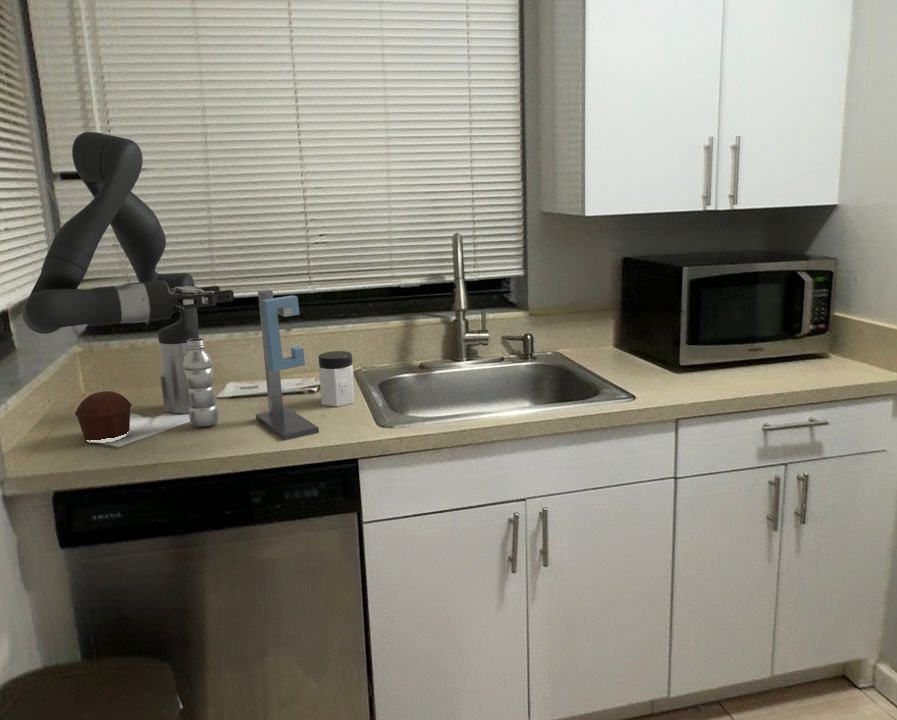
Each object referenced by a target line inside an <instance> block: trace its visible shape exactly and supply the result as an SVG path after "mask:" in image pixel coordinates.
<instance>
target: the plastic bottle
mask: <svg viewBox="0 0 897 720" xmlns="http://www.w3.org/2000/svg"><path fill="white" fill-rule="evenodd" d="M205 348H206V344H205V339H204V338H200V337H199V338H194V339H189V340H187V349H189V351H188V353H187V355H186V356H185V358H184V360H183V368H184V372H185V375H186V379H187V383H188V387H189V388H188V389H189V400H190V407H189V413H188V414H189V415H188V418H189V421H190V423H191V424H192V425H193V426H194V427H201V428H202V427H210V426H214V425H216V424H217V423H218V421H219V419H220V410H219V408H218V407H219V406H218V404H217V400H216V395H215V392H214V391H215V390H214V385H213V384H214V378H213V377H214V375H213V373H214V370H213V369H214V366H213V365H214V362H213V358H212V356H210V354H209V353H208V352H207V350H205Z"/></svg>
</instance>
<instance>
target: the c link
mask: <svg viewBox="0 0 897 720" xmlns="http://www.w3.org/2000/svg"><path fill="white" fill-rule="evenodd" d="M261 301H262V309H263V317H264V325H265V334H266V342H267V350H268V358H269V367H270V370H272V371H279V370H280V371H285V370H289V369H294V368H299V367H303V366H306V363H305V362H306V361H305V360H306V359H305V353H304V352H305V351H304V347H302V346H299V345H298V346H292V347H290V353H291V356H288V357H284V358H283V349H282V342H281V341H282V340H281V334H280V324H279V315H278V314H277V309H278V308H284V307H292V317H293V316H298V315H300V306H299V297H298V296H297V295H286V296H281V297H273V298H272V299H266V300H261Z"/></svg>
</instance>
